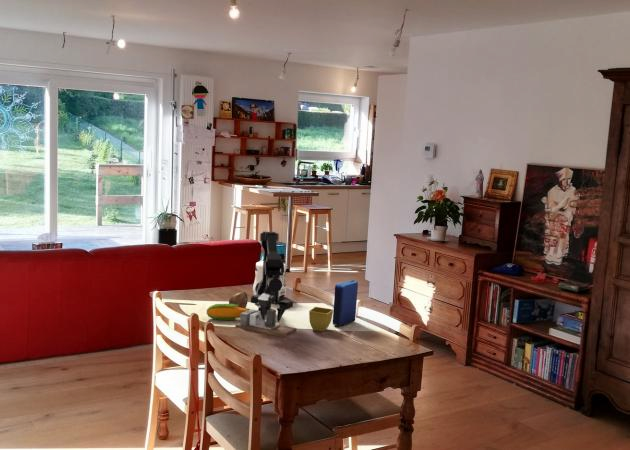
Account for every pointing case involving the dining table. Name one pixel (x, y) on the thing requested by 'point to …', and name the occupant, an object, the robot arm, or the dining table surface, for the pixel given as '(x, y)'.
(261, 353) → the dining table surface
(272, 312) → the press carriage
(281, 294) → the milk container
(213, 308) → the corn
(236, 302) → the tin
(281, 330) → the press base
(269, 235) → the robot arm
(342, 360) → the dining table surface
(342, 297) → the book
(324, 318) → the flower pot
